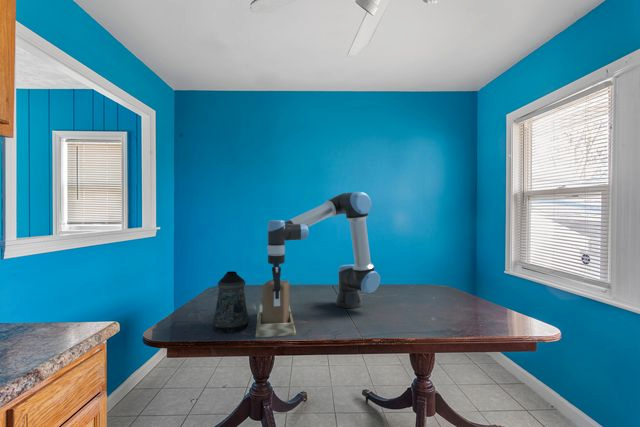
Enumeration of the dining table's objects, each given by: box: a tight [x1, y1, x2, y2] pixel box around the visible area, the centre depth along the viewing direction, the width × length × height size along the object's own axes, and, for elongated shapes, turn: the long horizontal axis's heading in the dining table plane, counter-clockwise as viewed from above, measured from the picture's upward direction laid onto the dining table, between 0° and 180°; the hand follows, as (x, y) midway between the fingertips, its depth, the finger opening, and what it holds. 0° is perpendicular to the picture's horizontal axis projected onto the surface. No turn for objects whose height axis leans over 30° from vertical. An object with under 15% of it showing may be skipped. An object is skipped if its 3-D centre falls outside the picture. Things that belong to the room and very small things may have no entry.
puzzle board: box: [255, 306, 297, 338], centre depth 147 cm, size 17×32×5 cm, turn 10°
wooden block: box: [261, 279, 290, 324], centre depth 140 cm, size 10×10×20 cm
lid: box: [258, 297, 292, 314], centre depth 153 cm, size 15×15×4 cm
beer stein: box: [211, 270, 251, 335], centre depth 143 cm, size 16×19×25 cm
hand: (276, 301), depth 140 cm, fingers open, 13 cm apart
